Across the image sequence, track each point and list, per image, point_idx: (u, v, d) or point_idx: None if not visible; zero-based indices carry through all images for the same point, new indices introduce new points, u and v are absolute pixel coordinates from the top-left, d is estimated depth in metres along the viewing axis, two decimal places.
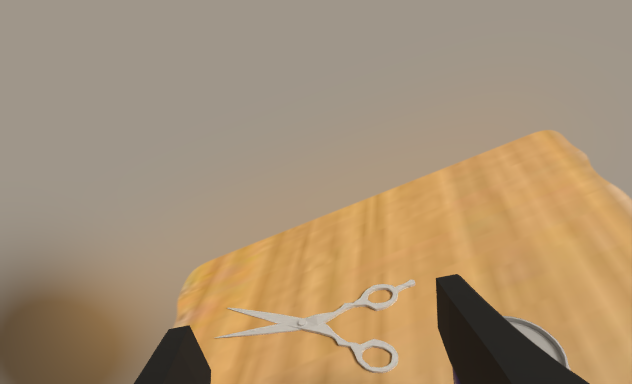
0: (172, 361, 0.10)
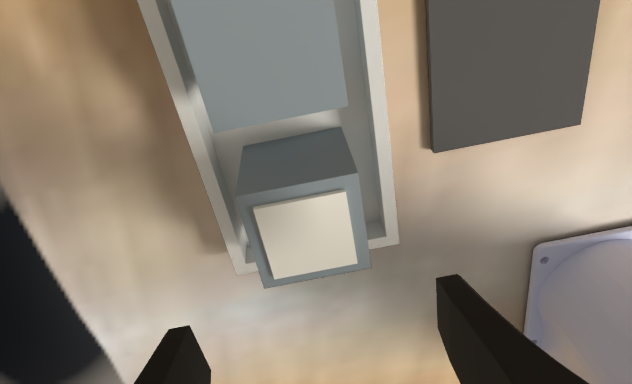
0: (172, 362, 0.10)
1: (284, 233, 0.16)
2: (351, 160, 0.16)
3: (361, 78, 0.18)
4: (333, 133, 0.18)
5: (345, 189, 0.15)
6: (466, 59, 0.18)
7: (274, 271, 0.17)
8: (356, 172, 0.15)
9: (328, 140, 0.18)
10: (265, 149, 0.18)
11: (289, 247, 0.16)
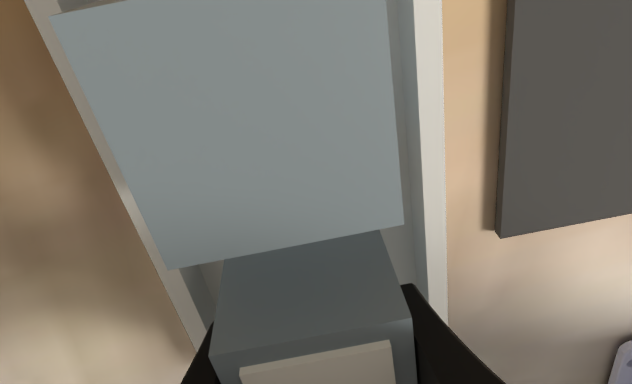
0: None
1: None
2: (396, 284, 0.10)
3: (403, 141, 0.12)
4: None
5: (389, 340, 0.09)
6: (561, 113, 0.12)
7: None
8: (408, 316, 0.09)
9: (355, 234, 0.12)
10: None
11: None
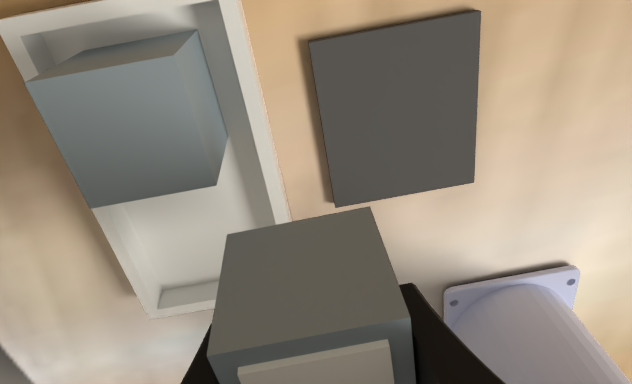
0: None
1: None
2: (394, 284, 0.10)
3: None
4: (359, 219, 0.12)
5: (387, 339, 0.09)
6: (356, 125, 0.19)
7: None
8: (407, 315, 0.09)
9: (353, 234, 0.12)
10: (259, 244, 0.12)
11: None
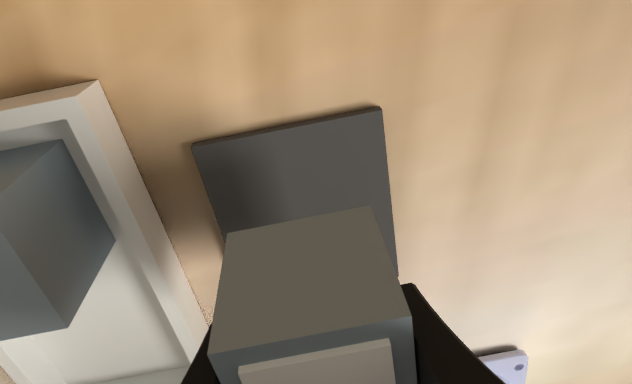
0: None
1: None
2: (396, 283, 0.10)
3: None
4: (360, 218, 0.12)
5: (388, 338, 0.09)
6: (258, 226, 0.17)
7: None
8: (408, 314, 0.09)
9: (354, 232, 0.12)
10: (259, 243, 0.12)
11: None
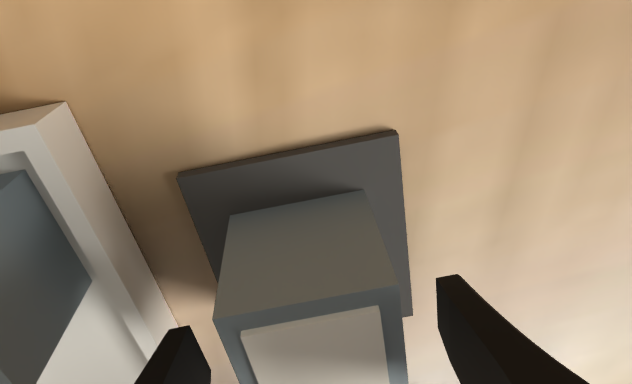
0: (172, 361, 0.10)
1: (287, 364, 0.11)
2: (385, 256, 0.11)
3: None
4: (354, 201, 0.13)
5: (378, 305, 0.10)
6: None
7: None
8: (396, 283, 0.10)
9: (348, 213, 0.13)
10: (260, 224, 0.13)
11: (294, 380, 0.11)
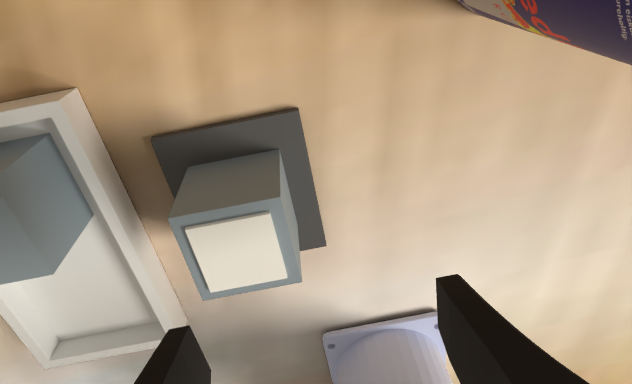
0: (172, 361, 0.10)
1: (216, 251, 0.17)
2: (278, 184, 0.17)
3: None
4: (270, 156, 0.20)
5: (269, 211, 0.17)
6: None
7: (209, 285, 0.18)
8: (279, 196, 0.16)
9: (264, 162, 0.19)
10: (206, 170, 0.19)
11: (222, 263, 0.17)
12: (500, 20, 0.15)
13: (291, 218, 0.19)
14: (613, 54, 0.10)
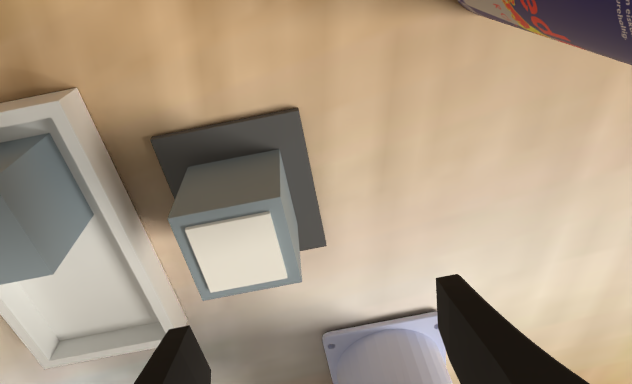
0: (172, 361, 0.10)
1: (216, 251, 0.17)
2: (278, 184, 0.17)
3: None
4: (270, 156, 0.20)
5: (269, 211, 0.17)
6: None
7: (209, 285, 0.18)
8: (279, 196, 0.16)
9: (264, 162, 0.19)
10: (206, 170, 0.19)
11: (222, 263, 0.17)
12: (500, 20, 0.15)
13: (291, 218, 0.19)
14: (613, 54, 0.10)
